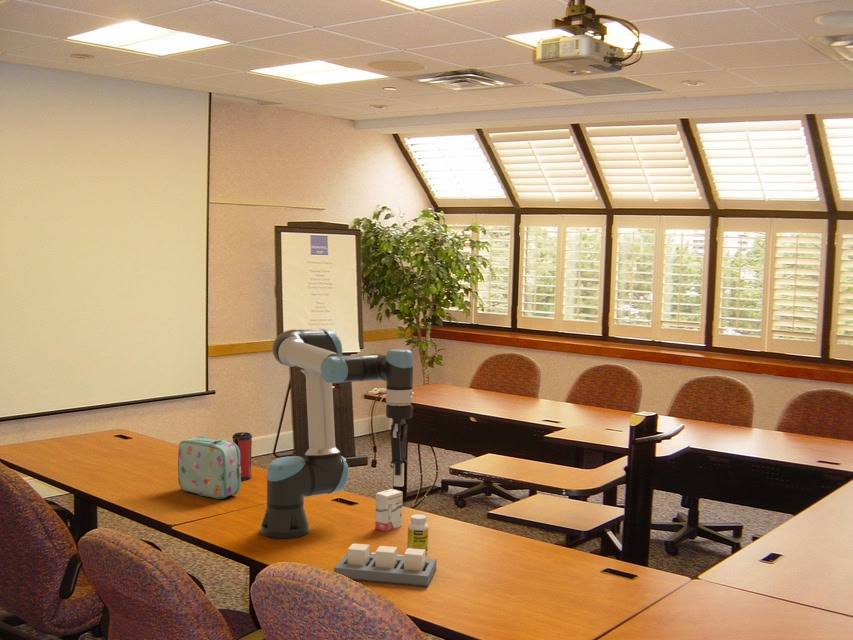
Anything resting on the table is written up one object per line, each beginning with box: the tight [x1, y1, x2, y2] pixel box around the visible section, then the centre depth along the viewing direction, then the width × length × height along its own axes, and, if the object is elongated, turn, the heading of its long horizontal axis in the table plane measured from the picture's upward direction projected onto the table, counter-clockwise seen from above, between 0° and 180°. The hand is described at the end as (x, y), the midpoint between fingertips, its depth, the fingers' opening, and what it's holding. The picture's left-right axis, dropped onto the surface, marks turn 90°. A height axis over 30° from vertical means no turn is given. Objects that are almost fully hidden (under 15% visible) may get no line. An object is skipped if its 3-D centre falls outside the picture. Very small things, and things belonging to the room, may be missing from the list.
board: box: [333, 551, 437, 588], centre depth 238 cm, size 26×14×3 cm, turn 80°
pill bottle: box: [406, 514, 429, 555], centre depth 256 cm, size 6×6×11 cm
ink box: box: [374, 488, 404, 532], centre depth 281 cm, size 9×5×12 cm, turn 142°
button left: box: [347, 543, 371, 566], centre depth 239 cm, size 5×5×4 cm
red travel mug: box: [231, 431, 253, 481], centre depth 340 cm, size 8×8×18 cm
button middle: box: [375, 545, 398, 568], centre depth 238 cm, size 5×5×4 cm
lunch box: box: [177, 435, 242, 500], centre depth 316 cm, size 27×10×21 cm, turn 58°
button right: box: [403, 548, 426, 571], centre depth 236 cm, size 5×5×4 cm
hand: (398, 485), depth 245 cm, fingers closed
